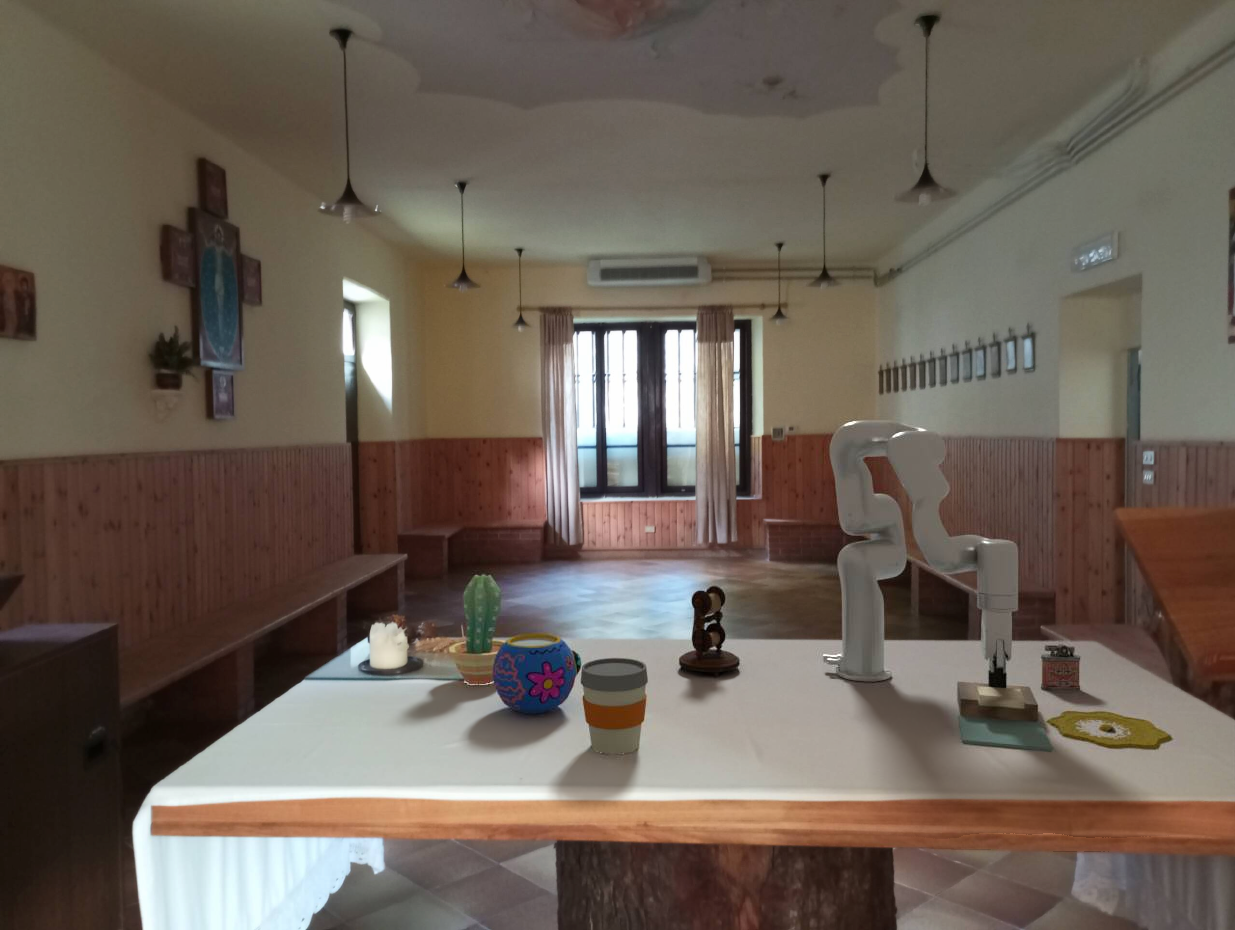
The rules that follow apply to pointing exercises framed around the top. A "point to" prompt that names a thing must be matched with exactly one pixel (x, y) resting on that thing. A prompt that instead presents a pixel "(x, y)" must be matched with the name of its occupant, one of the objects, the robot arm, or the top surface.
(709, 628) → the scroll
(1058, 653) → the lighter
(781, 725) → the top surface
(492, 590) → the potted cactus
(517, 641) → the ceramic pot
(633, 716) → the reusable coffee cup
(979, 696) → the tile
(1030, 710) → the brown flat block
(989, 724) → the mat
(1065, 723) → the decorative medallion
